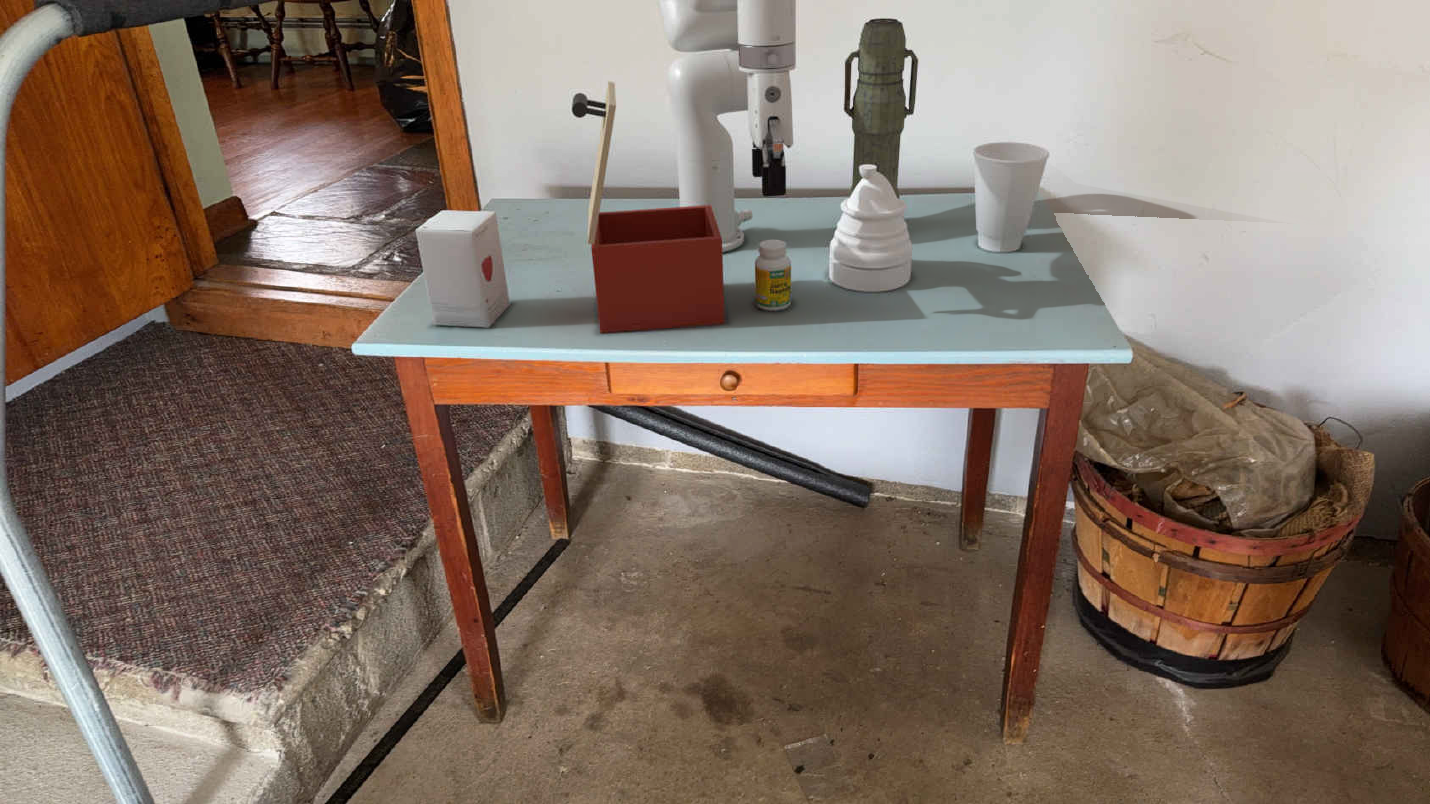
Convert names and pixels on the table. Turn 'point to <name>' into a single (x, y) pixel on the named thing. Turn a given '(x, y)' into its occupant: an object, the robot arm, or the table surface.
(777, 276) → the supplement bottle
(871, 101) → the olive green vase
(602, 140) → the lid
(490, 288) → the rectangular carton
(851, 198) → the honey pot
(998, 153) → the cup
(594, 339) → the table surface
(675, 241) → the red open box
